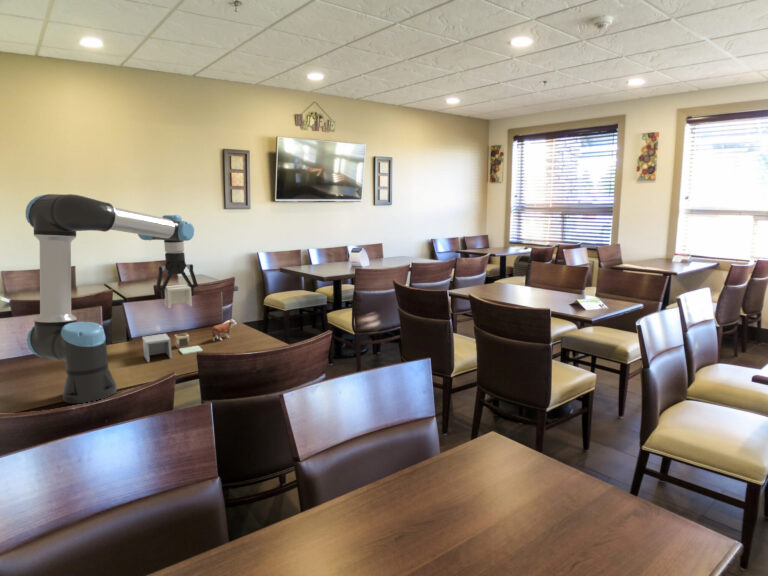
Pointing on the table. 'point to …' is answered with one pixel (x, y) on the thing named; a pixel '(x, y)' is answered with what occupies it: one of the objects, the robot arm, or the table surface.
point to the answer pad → (190, 350)
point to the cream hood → (178, 295)
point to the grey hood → (156, 345)
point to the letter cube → (182, 340)
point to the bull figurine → (223, 329)
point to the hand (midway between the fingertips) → (178, 304)
